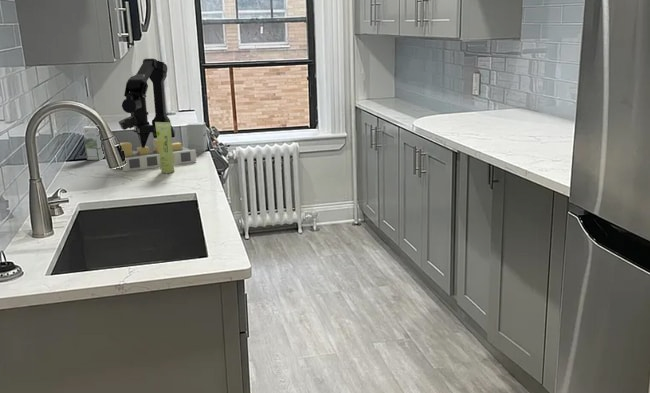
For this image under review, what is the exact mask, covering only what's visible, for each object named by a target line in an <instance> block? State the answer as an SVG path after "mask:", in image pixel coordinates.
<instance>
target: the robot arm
mask: <svg viewBox="0 0 650 393" xmlns="http://www.w3.org/2000/svg"><path fill="white" fill-rule="evenodd" d="M167 74H168V66H167V64H166V63H165V62H164V61H160V60H158V59H156V58H143V60H142V64H141V66H140V67H139V69H138V70H137V73H136V74H135V75H132V76H130V77H129V78H128V80H127V82H126V83H125V89H124V95H123V96H124V97H125V99H124V100H123V101H122V102H121V108H122V110H123V111H124V112H125V113H127V114H130V116H128V117H126V118H123V119H121V120H119V121H118V124H119V126H120V128H121V130H123V131H125V130H127V129H130V130H131V129H132V128H133V130H132V132H133V133H134V134H135V135H136V136H137V139H138V141H139V144H140V147H142V148H143V147H145V146H147V145H146V144H147V142H148V139H149V136H150V134H151V133H152V136H153V139H157V132H156V126H155V122H171V120H170V118H169V117H168V115H167V107H166V95H165V84H164V82H165V80H166V78H167V77H168V75H167ZM149 80H150V81H151V83H152V91H153V100H154V101H153V102H154V115H155V116H154V118H153V119H152V120H151V124H150V122H149V121H148V120H149V119H148V116H149V111H147V109H148V108H147V100H146V98H147V91H148V88H149V85H148V81H149ZM171 136H172V138H175V137H176V131H175V129H174V127H173V125H172V124H171Z"/></svg>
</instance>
